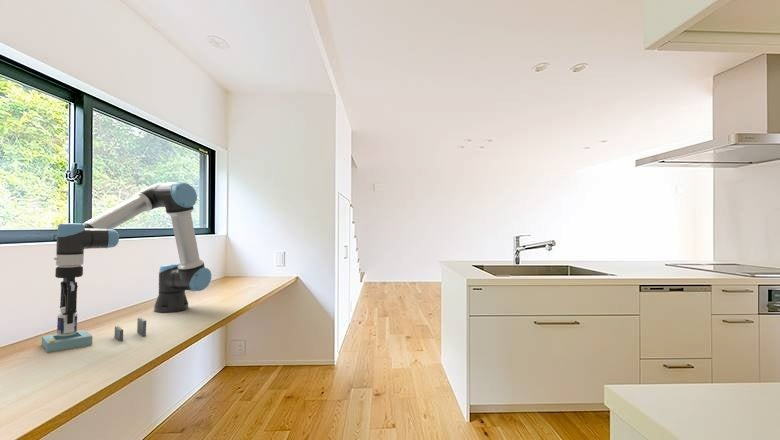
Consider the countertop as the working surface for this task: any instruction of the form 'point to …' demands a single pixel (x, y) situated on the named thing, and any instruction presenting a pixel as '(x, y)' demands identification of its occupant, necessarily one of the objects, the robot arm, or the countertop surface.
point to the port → (66, 341)
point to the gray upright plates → (140, 329)
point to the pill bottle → (61, 324)
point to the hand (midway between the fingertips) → (67, 330)
